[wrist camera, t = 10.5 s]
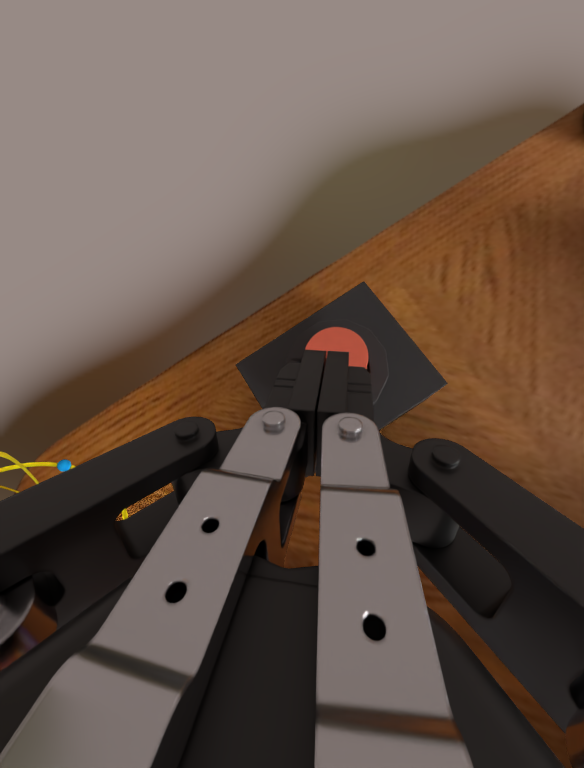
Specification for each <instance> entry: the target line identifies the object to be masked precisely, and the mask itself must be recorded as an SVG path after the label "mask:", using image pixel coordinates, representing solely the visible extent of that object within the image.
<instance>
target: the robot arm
mask: <svg viewBox="0 0 584 768" xmlns="http://www.w3.org/2000/svg"><path fill="white" fill-rule="evenodd" d="M348 365H349V352H343V351H328V353H327V358H326V351H322V350H305V351H304V354H303V358H302V361H301V363H288V364H287V365H285V366H284V367H283V368H282V369H280V371H279V374H278V376H277V380H276V381H275V383H274V387H273V388H272V391H271V393H270V396H269V398H268V401H267V403H266V405H265V408H264V409H261V410H259V411H257V412H255V413H254V414H252V415H251V416H250V418H249V419H248V421H247V422H246V424H245V426H244V427H243V428H239V429H233V430H226V431H218V432H216V428H215V425H214V423H213V422H212V421H210V420H209V419H206V418H203V417H187V418H182V419H179V420H177V421H174V422H172V423H170V424H168V425H165V426H163V427H161V428H159V429H157V430H155V431H152V432H150V433H148V434H146V435H144V436H141V437H139V438H137V439H135V440H133V441H131V442H128V443H126V444H124V445H122V446H120V447H117V448H115V449H113V450H111V451H109V452H107V453H104V454H102V455H100V456H98V457H96V458H93V459H91V460H89V461H87V462H85V463H83V464H80V465H78V466H76V467H74V468H72V469H69V470H67V471H65V472H63V473H61V474H59V475H56V476H54V477H52V478H50V479H48V480H45V481H43V482H41V483H39V484H37V485H35V486H32V487H30V488H28V489H26V490H24V491H21V492H19V493H17V494H15V495H13V496H11V497H8V498H6V499H4V500H2V501H0V768H565V767H564V765H563V764H562V763H561V762H560V760H559V759H558V758H557V757H556V755H555V754H554V753H553V751H552V750H551V749H550V748H549V746H548V745H547V744H546V743H545V741H544V740H543V739H542V738H541V736H540V735H539V734H538V733H537V731H536V730H535V729H534V728H533V726H532V725H531V724H530V723H529V721H528V720H527V719H526V718H525V716H524V715H523V714H522V713H521V711H520V710H519V709H518V708H517V706H516V705H515V704H514V703H513V701H512V700H511V699H510V698H509V696H508V695H507V694H506V693H505V691H504V690H503V689H502V688H501V686H500V685H499V684H498V683H497V681H496V680H495V679H494V677H493V676H492V675H491V674H490V672H489V671H488V670H487V669H486V667H485V666H484V665H483V664H482V662H481V661H480V660H479V659H478V657H477V656H476V655H475V654H474V652H473V651H472V650H471V649H470V647H469V646H468V645H467V644H466V643H465V641H464V640H463V639H462V638H461V637H460V635H459V634H458V633H457V632H456V631H455V630H454V629H453V628H452V627H451V626H450V625H449V624H448V623H447V622H446V621H445V620H444V619H442V618H441V617H440V616H439V615H438V614H437V613H435V612H434V611H433V610H432V609H430V608H429V607H427V606H426V602H425V597H424V593H423V589H422V584H421V580H420V576H419V572H418V567H419V568H420V569H421V570H422V572H423V573H424V574H425V575H426V576H427V577H428V578H429V579H430V581H431V582H432V583H433V584H434V585H435V586H436V587H437V589H438V590H439V591H440V592H441V593H442V594H443V595H444V597H445V598H446V599H447V600H448V601H449V602H450V603H451V604H452V606H453V607H454V608H455V609H456V610H457V611H458V612H459V614H460V615H461V616H462V617H463V618H464V619H465V620H466V622H467V623H468V624H469V625H470V626H471V627H472V628H473V629H474V631H475V632H476V633H477V634H478V635H479V636H480V637H481V639H482V640H483V641H484V642H485V643H486V644H487V645H488V647H489V648H490V649H491V650H492V651H493V652H494V653H495V654H496V656H497V657H498V658H499V659H500V660H501V661H502V662H503V664H504V665H505V666H506V667H507V668H508V669H509V670H510V672H511V673H512V674H513V675H514V676H515V677H516V678H517V679H518V681H519V682H520V683H521V684H522V685H523V686H524V687H525V689H526V690H527V691H528V692H529V693H530V694H531V695H532V697H533V698H534V699H535V700H536V701H537V702H538V703H539V704H540V706H541V707H542V708H543V709H544V710H545V711H546V712H547V714H548V715H549V716H550V717H551V718H552V719H553V720H554V722H555V723H556V724H557V725H558V726H559V727H560V728H561V729H562V731H563V732H564V733H565V734H566V736H565V741H566V749H567V753H568V757H569V761H570V764H571V766H572V768H584V529H583V528H582V527H580V526H579V525H577V524H576V523H575V522H573V521H572V520H570V519H569V518H567V517H566V516H564V515H563V514H561V513H560V512H558V511H557V510H555V509H554V508H553V507H551V506H550V505H548V504H547V503H545V502H544V501H542V500H541V499H539V498H538V497H536V496H535V495H534V494H532V493H531V492H529V491H528V490H526V489H525V488H523V487H522V486H520V485H519V484H517V483H516V482H514V481H513V480H512V479H510V478H509V477H507V476H506V475H504V474H503V473H501V472H500V471H498V470H497V469H495V468H494V467H493V466H491V465H490V464H488V463H487V462H485V461H484V460H482V459H481V458H479V457H478V456H476V455H475V454H473V453H472V452H471V451H469V450H468V449H466V448H464V447H463V446H461V445H459V444H457V443H455V442H452V441H449V440H445V439H436V438H432V439H425V440H422V441H420V442H418V443H417V444H416V445H415V446H414V447H413V449H412V448H409V447H406V446H402V445H399V444H397V443H394V442H392V441H390V440H388V439H387V438H385V437H384V436H383V435H381V434H380V433H379V430H378V427H377V426H376V424H375V423H374V411H373V396H372V382H371V374H370V373H369V372H368V371H367V370H366V369H365V367H358V366H348ZM315 464H316V476H320V477H321V486H320V520H319V559H318V566H310V567H301V568H291V569H288V568H284V562H285V557H286V553H287V549H288V546H289V542H290V538H291V535H292V531H293V527H294V524H295V520H296V516H297V513H298V509H299V505H300V501H301V497H302V488H303V485H304V480H305V475H309V476H314V470H315ZM169 483H172V486H173V489H174V491H173V492H171V493H170V494H168V495H166V496H164V497H163V498H161V499H159V500H158V501H156V502H154V503H152V504H151V505H149V506H147V507H146V508H144V509H142V510H140V511H139V512H137V513H135V514H134V515H132V516H130V517H128V518H127V519H124V520H121V521H116V518H117V517H118V515H119V514H120V513H121V512H122V511H123V510H124V509H125V508H127V507H129V506H130V505H132V504H134V503H136V502H137V501H139V500H141V499H143V498H144V497H146V496H148V495H150V494H152V493H153V492H155V491H157V490H159V489H160V488H162V487H164V486H166V485H167V484H169ZM460 526H461V527H462V528H463V529H464V530H465V531H464V530H463V529H462V528H461V527H460ZM470 535H471V536H472V537H473V538H474V539H475V540H474V539H473V538H472V537H471V536H470ZM480 544H481V545H482V546H483V547H484V548H485V549H484V548H483V547H482V546H481V545H480ZM490 553H491V554H492V555H493V556H494V557H495V558H494V557H493V556H492V555H491V554H490ZM417 566H418V567H417Z"/></svg>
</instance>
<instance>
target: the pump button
mask: <svg viewBox="0 0 584 768" xmlns="http://www.w3.org/2000/svg"><path fill="white" fill-rule="evenodd" d="M305 350H322V351H326V358H327V353H328V351H343V352H349V365H348V366H358V367H365V369H366V368H367V364H368V350H367V347H366V345H365V343H364V341H363V340H362V338H361V337H360V336H359V335H358V334H356V333H355V332H353V331H351V330H349V329H346V328H342V327H331V328H327V329H324V330H321V331H320V332H318V333H317V334H315V335H314V336H313V337H312V338H311V339H310V341H309V342H308V344H307V346H306V348H305Z"/></svg>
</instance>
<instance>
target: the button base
mask: <svg viewBox="0 0 584 768" xmlns="http://www.w3.org/2000/svg"><path fill="white" fill-rule="evenodd" d="M331 327H342V328H346V329H349V330H351V331H353V332H355V333H356V334H358V335H359V336H360V337H361V338H362V340H363V341H364V343H365V345H366V347H367V350H368V364H367V368H366V370H367V371H368V372H369V373H370V374H371V382H372V396H373V411H374V423H375V424H376V426H377V427H378V430H381V429H382V428H384V427H385V426H387V425H388V424H390V423H391V422H393V421H394V420H396V419H397V418H399V417H400V416H402V415H404V414H405V413H407V412H408V411H410V410H411V409H413V408H414V407H416V406H417V405H419V404H420V403H422V402H423V401H425V400H426V399H428V398H429V397H430V396H432V395H433V394H434V393H436V392H437V391H438V390H440V389H441V388H442V387H444V386H445V385H446V384H448V383H447V382H446V381H445V379H444V378H443V377H442V376H441V375H440V373H439V372H438V371H437V370H436V368H435V367H434V366H433V365H432V364H431V362H430V361H429V360H428V359H427V358H426V356H425V355H424V354H423V353H422V351H421V350H420V349H419V348H418V347H417V345H416V344H415V343H414V342H413V340H412V339H411V338H410V337H409V336H408V334H407V333H406V332H405V331H404V329H403V328H402V327H401V326H400V325H399V323H398V322H397V321H396V320H395V318H394V317H393V316H392V315H391V314H390V312H389V311H388V310H387V309H386V308H385V306H384V305H383V304H382V303H381V301H380V300H379V299H378V298H377V297H376V295H375V294H374V293H373V292H372V290H371V289H370V288H369V287H368V286H367V284H366V283H365V282H364V281H363V282H362V283H360V284H359V285H357V286H356V287H354V288H353V289H351V290H350V291H348V292H346V293H345V294H343V295H342V296H340V297H339V298H337V299H336V300H334V301H333V302H331V303H330V304H328V305H326V306H325V307H323V308H322V309H320V310H319V311H317V312H316V313H314V314H313V315H311V316H310V317H308V318H306V319H305V320H303V321H302V322H300V323H299V324H297V325H296V326H294V327H293V328H291V329H290V330H288V331H286V332H285V333H283V334H282V335H280V336H279V337H277V338H276V339H274V340H273V341H271V342H270V343H268V344H266V345H265V346H263V347H262V348H260V349H259V350H257V351H256V352H254V353H253V354H251V355H250V356H248V357H246V358H245V359H243V360H242V361H240V362H239V363H237V364H236V366H237V368H238V370H239V371H240V373H241V375H242V376H243V378H244V379H245V381H246V383H247V384H248V386H249V388H250V389H251V391H252V392H253V394H254V396H255V397H256V399H257V401H258V402H259V404H260V406H261V407H262V409H264V408H265V405H266V403H267V401H268V398H269V396H270V393H271V391H272V388H273V387H274V383H275V381H276V380H277V376H278V374H279V371H280V369H282V368H283V367H284V366H285V365H287V364H288V363H301V361H302V358H303V354H304V351H305V348H306V346H307V344H308V342H309V341H310V339H311V338H312V337H313V336H314V335H315V334H317V333H318V332H320V331H321V330H324V329H327V328H331ZM315 472H316V464H315V470H314V473H315ZM308 476H309V475H305V477H308Z"/></svg>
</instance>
